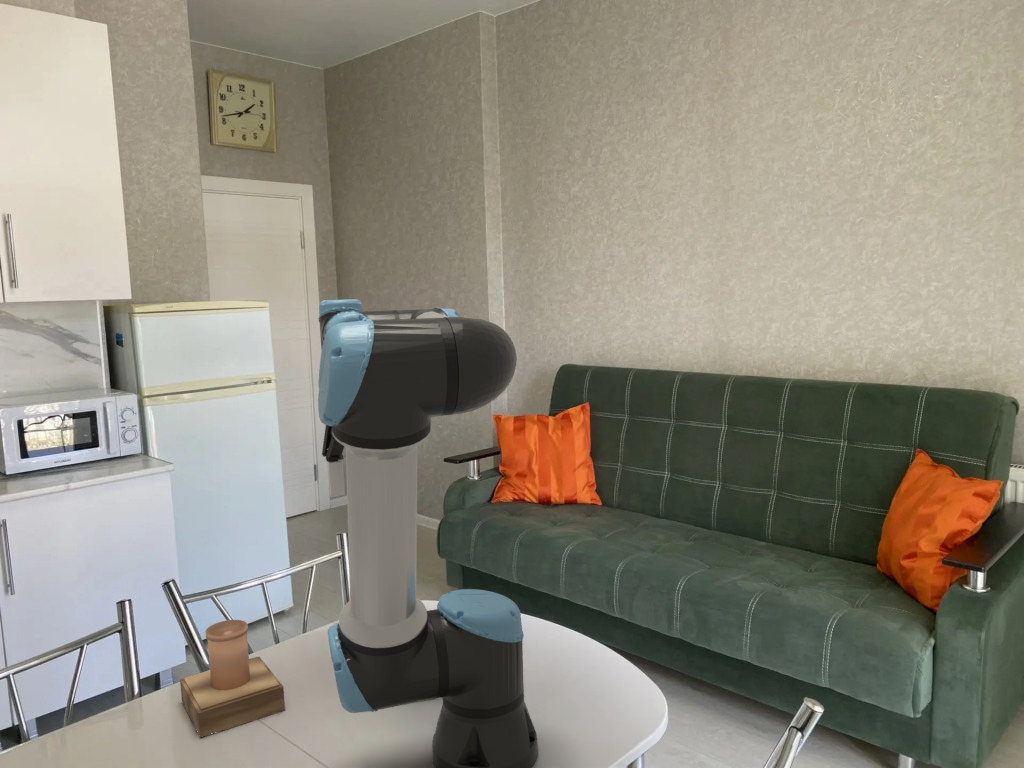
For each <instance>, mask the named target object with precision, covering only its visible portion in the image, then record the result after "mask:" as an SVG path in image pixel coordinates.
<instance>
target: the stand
mask: <svg viewBox="0 0 1024 768" xmlns="http://www.w3.org/2000/svg"><path fill="white" fill-rule="evenodd" d="M249 668H250V680H249V681H248V682H247V683H246V684H244V685H243V686H241V687H238V688H235V689H231V690H216V689H214V688H212V686H211V677H210V669H208V670H205V671H203V672H199V673H196V674H192V675H189V676H186V677H183V678H180V679H179V681H180V683H179V684H180V694H181V696H180V697H181V703H182V702H183V703H182V704H184V705H183V707H184V706H185V707H184V709H185V708H186V709H185V711H186V710H187V711H186V712H188V713H187V715H188V714H189V715H188V716H190V717H191V719H192V721H193V723H194V725H195V727H196V728H195V727H194V728H195V730H196V729H197V730H196V732H197V731H198V732H197V734H198V733H199V734H198V736H199V735H200V736H199V738H200V737H202V738H204V737H203V736H205V737H207V736H206V735H208V736H211V735H212V734H211V733H214V734H216V733H215V732H217V733H220V732H223V731H226V730H229V729H233V728H235V727H238V726H241V725H243V724H247V723H250V722H253V721H256V720H260V719H262V718H265V717H268V716H272V715H274V714H277V713H280V712H284V711H286V705H285V690H284V689H285V687H284V686H283V684H282V683H281V681H280V680H279V679H278V677H277V676H275V674H274V673H273V672H272V670H271V669H270V667H268V665H267V664H266V663H265V661H264V660H263V659H262V658H261V657H260V656H254V657H251V658H249ZM190 717H189V718H190ZM191 719H190V720H191ZM192 721H191V722H192ZM193 723H192V724H193ZM194 725H193V726H194ZM222 730H223V731H222ZM219 731H220V732H219ZM210 734H211V735H210Z"/></svg>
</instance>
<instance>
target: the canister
mask: <svg viewBox="0 0 1024 768" xmlns="http://www.w3.org/2000/svg"><path fill="white" fill-rule="evenodd" d="M248 631H249V624H248V622H246V621H245V620H241V619H227V620H222V621H219V622H216V623H213V624H211V625H210V626H208V627H207V628H206V630H205V638H206V640H207V649H208V650H207V651H208V663H209V664H208V665H209V670H210V677H211V686H212V688H214V689H216V690H231V689H235V688H238V687H241V686H243V685H244V684H246V683H247V682H248V681H249V680H250V668H249V659H250V657H249V643H248Z"/></svg>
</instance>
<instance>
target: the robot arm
mask: <svg viewBox="0 0 1024 768" xmlns="http://www.w3.org/2000/svg"><path fill="white" fill-rule="evenodd" d="M318 310H319V312H318V313H319V314H318V315H319V316H318V318H317V319H318V322H319V333H320V336H319V337H320V346H321V349H320V350H321V353H320V361H319V368H318V369H319V370H318V394H317V395H318V396H317V397H318V398H317V403H318V404H317V405H318V406H317V407H318V408H317V409H318V417H319V420H320V422H321V423H322V424H323V425H325V427H324V428H325V429H324V434H323V435H324V437H323V442H322V443H323V444H322V450H321V451H322V452H321V455H322V457H325V460H326V462H327V473H328V476H327V477H328V489H329V492H328V493H329V498H336V497H341V496H346V499H347V500H346V502H347V506H346V507H347V508H346V509H347V535H348V537H347V539H348V540H347V541H348V543H347V544H348V572H349V573H348V574H349V575H348V577H349V600H348V602H346V604H344V606H343V607H342V609H341V610H340V613H339V617H338V622H337V623H335V624H333V625H331V626H329V627H328V628H327V637H328V644H329V650H330V656H331V657H330V658H331V662H332V666H333V673H334V677H335V683H336V688H337V693H338V697H339V701H340V705H341V707H342V708H343V710H344V711H346V712H348V713H352V714H358V713H367V712H372V713H374V712H378V711H380V710H384V709H389V708H395V707H399V706H404V705H409V704H414V703H419V702H425V701H429V700H434V699H440V698H442V706H441V710H440V713H439V717H438V718H437V719H438V720H437V724H436V727H435V731H434V734H433V737H432V744H431V750H432V751H431V752H432V761H433V764H434V767H435V768H532V767H533V766H532V765H534V764H535V763H536V761H537V758H538V745H539V744H538V735H537V732H536V728H535V726H534V723H533V720H532V718H531V715H530V712H529V709H528V707H527V704H526V702H525V693H524V692H525V690H524V689H525V687H524V684H525V682H524V657H523V656H524V654H523V653H524V652H523V651H524V650H523V640H524V637H525V636H524V630H523V624H522V616H521V614H522V613H521V611H520V607H519V606H518V605H517V604H516V603H515V602H514V601H513V600H512V599H510V598H509V597H507V596H506V595H503V594H501V593H498V592H494V591H489V590H485V589H476V588H475V589H473V588H472V589H471V588H466V589H465V588H464V589H456V590H451V591H449V592H447V593H444V594H442V595H441V596H440V598H439V599H438V602H437V605H436V609H430V610H427V607H426V605H425V604H424V602H422V600H421V599H419V598H418V597H417V565H418V563H417V560H418V559H417V557H418V556H417V555H418V554H417V553H418V552H417V550H418V549H417V548H418V546H417V545H418V541H417V540H418V459H419V458H418V448H419V447H418V446H420V445H421V444H422V443H424V442H425V441H426V440H427V439H428V438H429V437H430V434H431V430H432V429H431V425H432V423H431V421H432V420H431V419H432V418H433V417H443V416H452V415H462V414H466V413H469V412H474V411H476V410H479V409H481V408H483V407H485V406H486V405H488V404H490V403H492V402H493V401H495V400H496V399H497V398H498V397H499V396H500V395H501V394H503V393H504V391H506V389H507V388H508V386H509V385H510V383H511V382H512V380H513V377H514V375H515V371H516V369H517V368H516V367H517V360H518V359H517V351H516V347H515V345H514V341H513V340H512V338H511V337H510V335H509V334H508V333H507V332H506V330H505V329H504V328H502V327H501V326H499V325H498V324H496V323H494V322H491V321H489V320H485V319H481V318H470V317H464V316H463V317H461V316H459V315H458V312H457V311H456V310H455V309H453V308H441V307H433V308H423V309H422V308H421V309H420V308H419V309H417V308H416V309H399V310H398V309H397V310H396V309H395V310H389V309H388V310H365V311H364V310H363V303H362V301H360V300H359V299H356V298H353V299H352V298H351V299H349V298H348V299H326V300H325V299H324V300H321V302H320V303H319V308H318ZM344 448H345V449H344ZM344 450H345V458H346V459H345V458H344V455H343V452H344ZM344 459H345V465H346V466H345V468H346V492H345V475H344V474H345V473H344ZM345 493H346V495H345Z"/></svg>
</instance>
